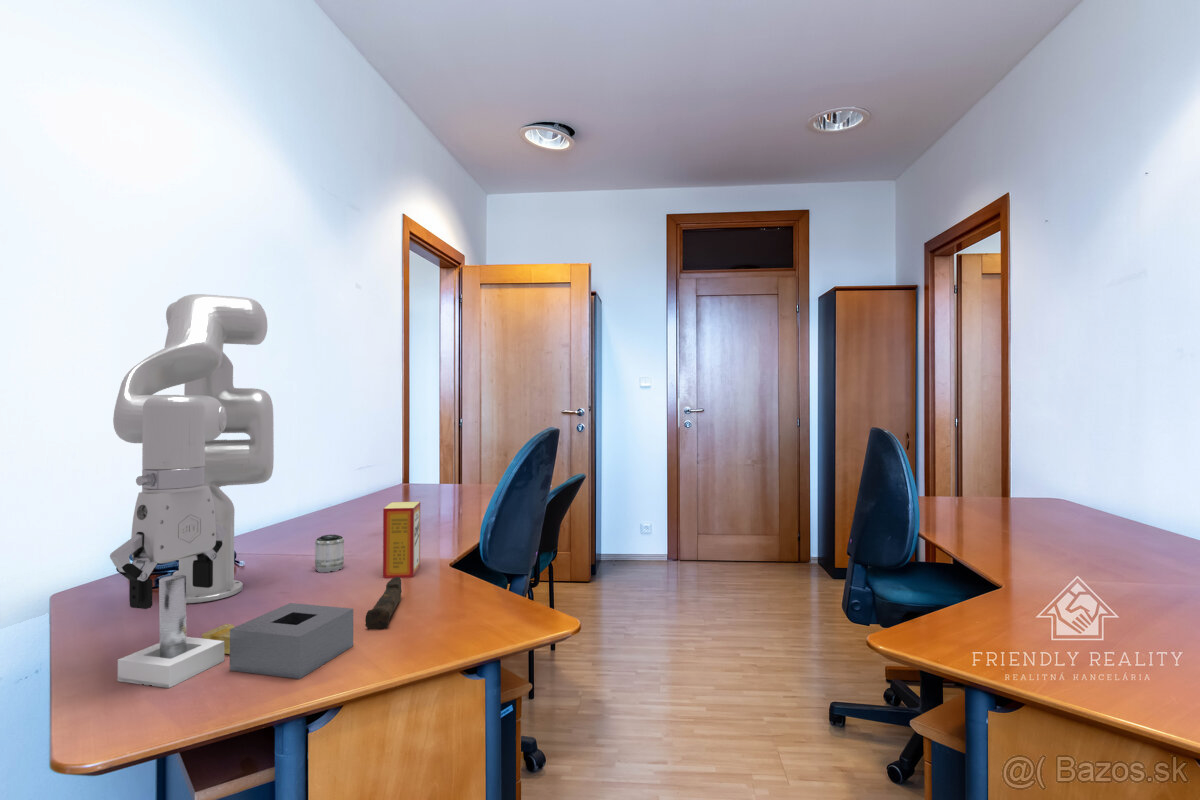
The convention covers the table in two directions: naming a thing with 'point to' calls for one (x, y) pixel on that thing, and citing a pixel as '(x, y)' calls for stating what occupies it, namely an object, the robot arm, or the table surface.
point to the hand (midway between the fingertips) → (173, 596)
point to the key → (220, 635)
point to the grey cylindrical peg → (172, 616)
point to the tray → (170, 663)
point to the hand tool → (384, 606)
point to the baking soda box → (401, 539)
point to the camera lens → (329, 553)
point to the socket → (291, 640)
